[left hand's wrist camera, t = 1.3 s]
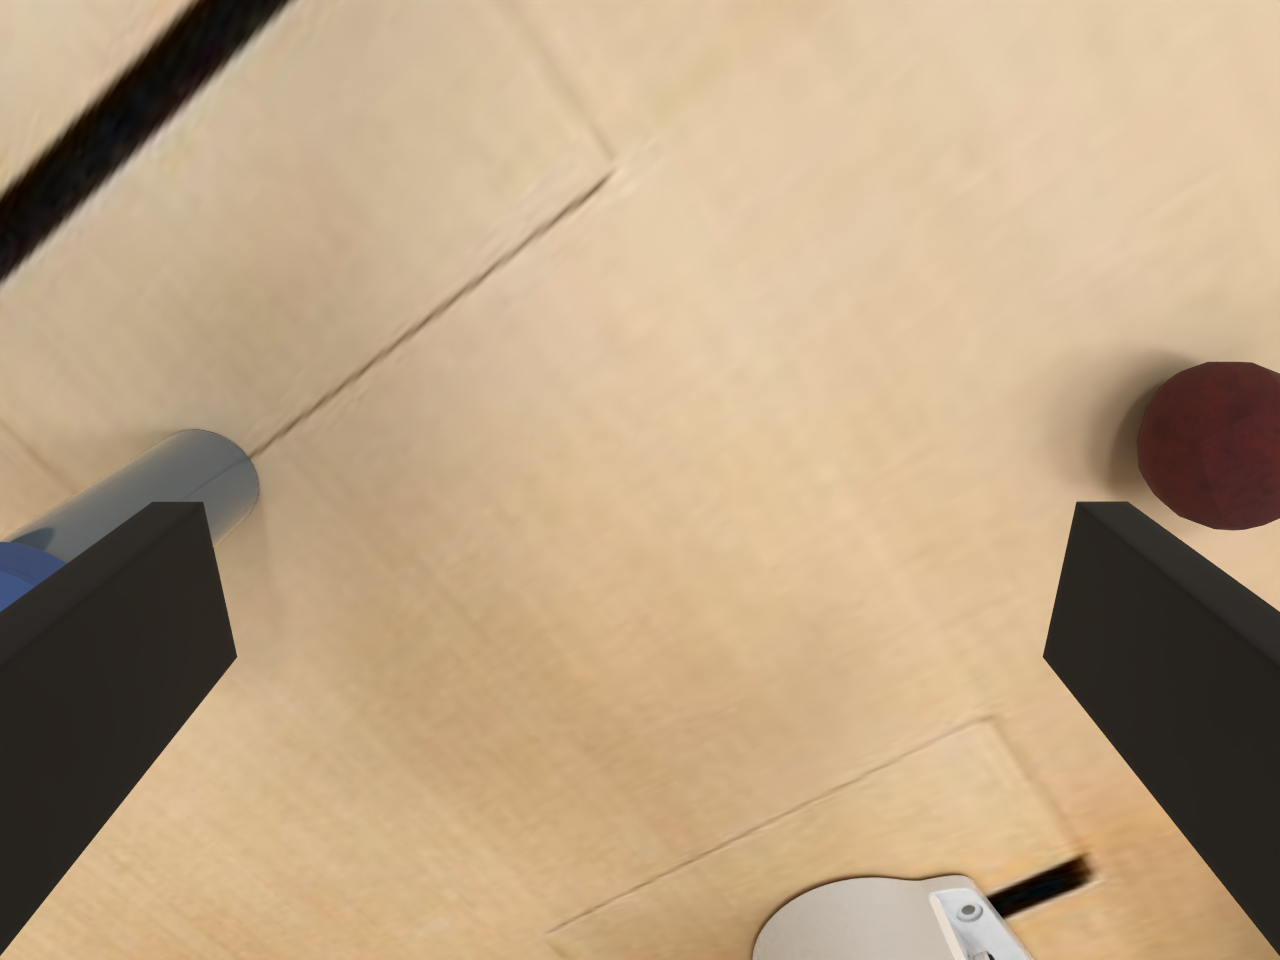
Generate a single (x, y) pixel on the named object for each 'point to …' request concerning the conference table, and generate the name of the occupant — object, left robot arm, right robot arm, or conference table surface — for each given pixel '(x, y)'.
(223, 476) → the jar
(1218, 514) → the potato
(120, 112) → the conference table surface
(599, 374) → the conference table surface
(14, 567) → the lid
